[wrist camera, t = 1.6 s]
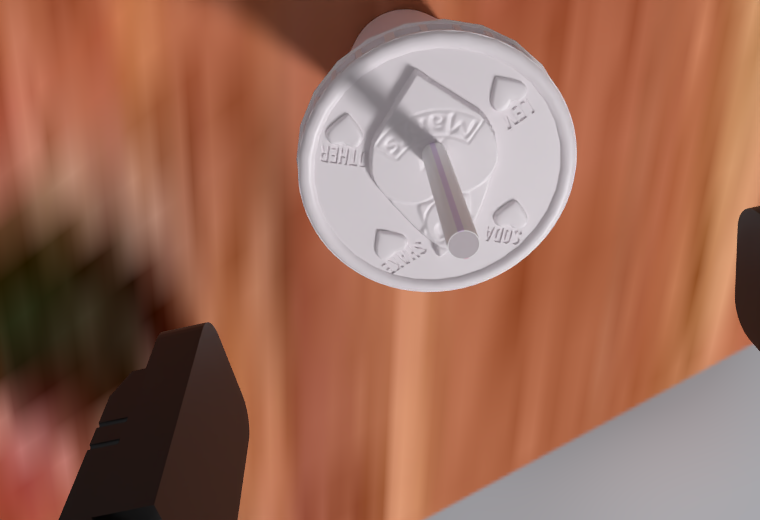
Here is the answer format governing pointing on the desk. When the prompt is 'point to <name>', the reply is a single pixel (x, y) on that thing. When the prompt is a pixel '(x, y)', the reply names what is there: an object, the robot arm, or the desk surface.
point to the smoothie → (434, 153)
